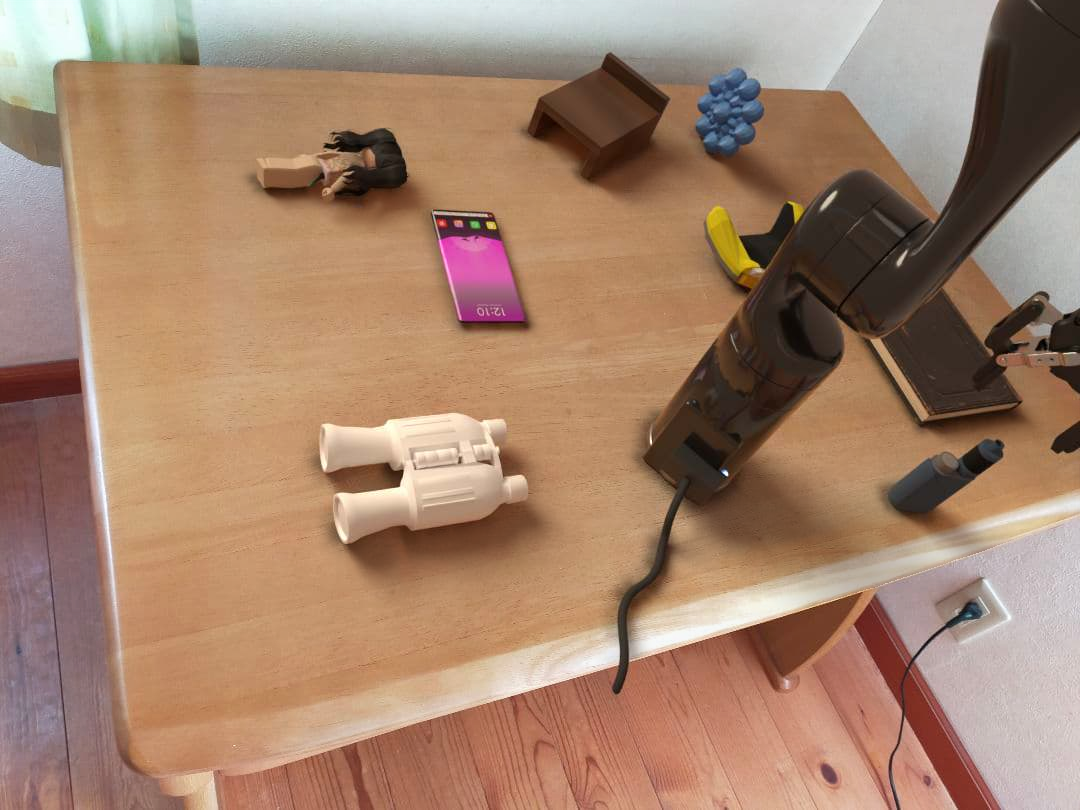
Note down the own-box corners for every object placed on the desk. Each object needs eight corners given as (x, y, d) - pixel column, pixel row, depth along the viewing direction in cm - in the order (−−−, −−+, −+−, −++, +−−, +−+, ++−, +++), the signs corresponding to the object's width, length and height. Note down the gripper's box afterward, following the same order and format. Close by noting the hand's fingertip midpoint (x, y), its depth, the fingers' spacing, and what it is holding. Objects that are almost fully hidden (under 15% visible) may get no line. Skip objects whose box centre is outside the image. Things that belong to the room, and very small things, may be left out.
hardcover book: (918, 425, 100) (931, 414, 98) (822, 273, 110) (832, 260, 109) (1012, 410, 106) (1026, 400, 105) (913, 268, 117) (924, 256, 116)
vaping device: (931, 517, 92) (1014, 457, 83) (888, 508, 91) (968, 447, 81) (925, 495, 93) (1006, 435, 84) (883, 487, 92) (960, 424, 83)
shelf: (587, 180, 106) (608, 134, 101) (526, 131, 108) (544, 83, 103) (648, 142, 115) (670, 98, 109) (591, 97, 117) (610, 51, 111)
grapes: (751, 180, 117) (800, 106, 108) (710, 180, 114) (756, 103, 105) (715, 121, 123) (758, 46, 114) (675, 120, 120) (716, 42, 111)
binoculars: (313, 442, 74) (320, 411, 70) (488, 422, 81) (502, 393, 77) (339, 554, 69) (347, 527, 66) (524, 523, 76) (540, 497, 72)
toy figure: (280, 223, 87) (415, 195, 95) (279, 170, 83) (421, 145, 90) (253, 180, 91) (385, 157, 98) (251, 127, 86) (389, 107, 93)
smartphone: (492, 218, 97) (494, 212, 96) (526, 324, 89) (529, 318, 89) (428, 215, 94) (430, 209, 93) (458, 324, 86) (460, 319, 86)
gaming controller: (685, 235, 106) (724, 298, 102) (706, 201, 102) (747, 265, 97) (778, 228, 113) (818, 286, 109) (801, 196, 109) (844, 255, 104)
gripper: (1077, 264, 67) (938, 387, 79) (1244, 385, 64) (1072, 492, 77) (1099, 224, 71) (964, 346, 84) (1255, 336, 69) (1091, 444, 81)
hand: (1016, 416), depth 80 cm, fingers open, 8 cm apart
